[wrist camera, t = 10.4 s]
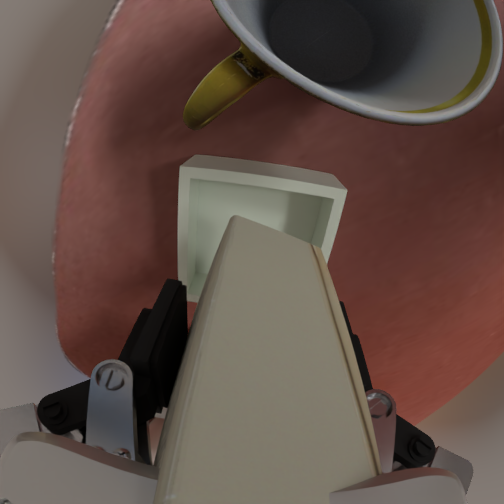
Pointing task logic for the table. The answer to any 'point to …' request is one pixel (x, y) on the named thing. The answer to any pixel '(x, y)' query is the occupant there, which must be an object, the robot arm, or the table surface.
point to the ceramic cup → (360, 56)
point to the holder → (250, 208)
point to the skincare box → (265, 383)
